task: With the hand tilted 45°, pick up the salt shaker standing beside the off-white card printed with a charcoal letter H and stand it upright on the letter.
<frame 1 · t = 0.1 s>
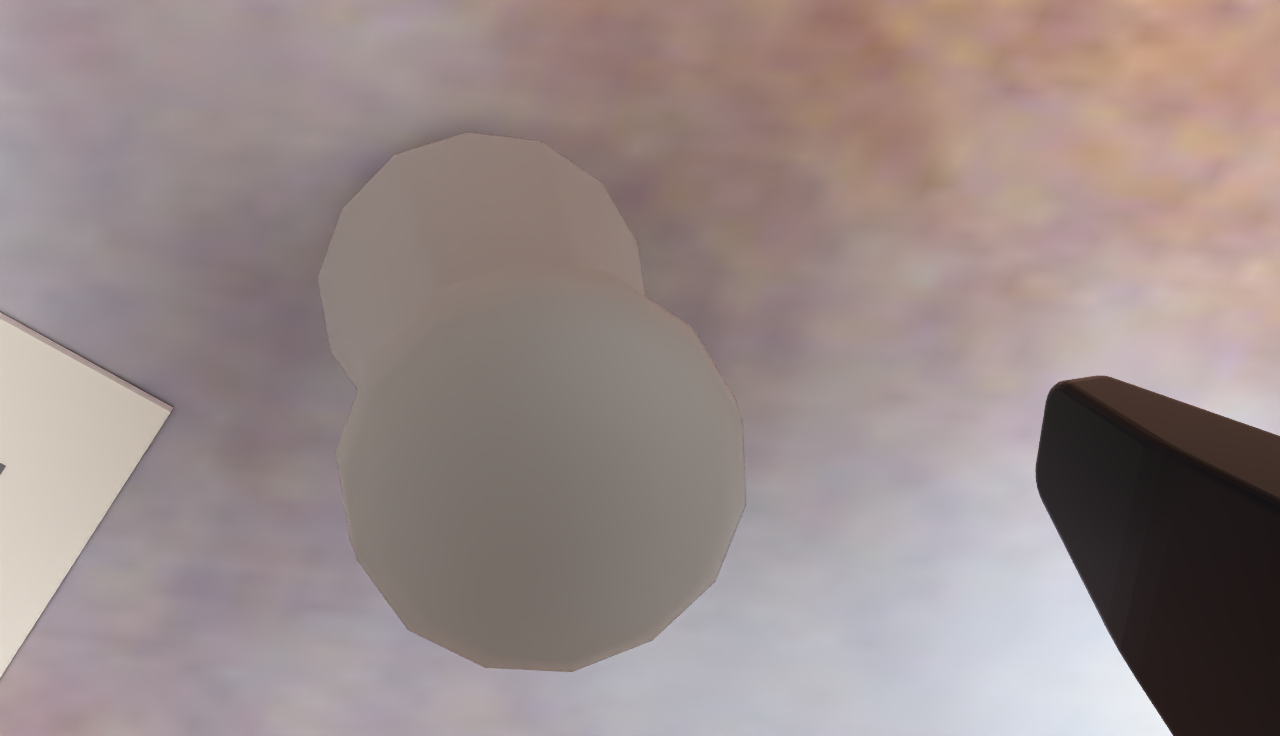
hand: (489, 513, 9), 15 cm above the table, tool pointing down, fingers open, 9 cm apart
salt shaker: (477, 270, 24), on the table
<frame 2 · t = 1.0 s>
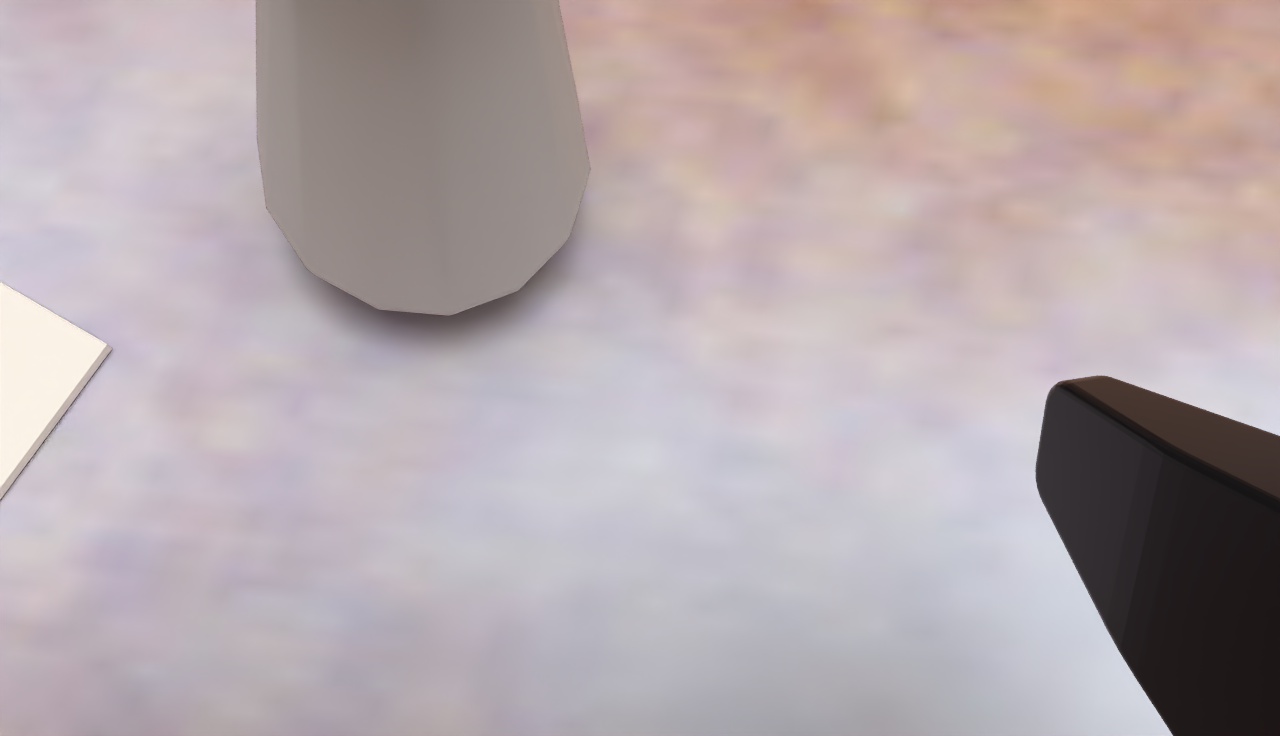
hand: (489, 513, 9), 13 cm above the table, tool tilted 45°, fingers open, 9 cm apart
salt shaker: (433, 212, 24), on the table
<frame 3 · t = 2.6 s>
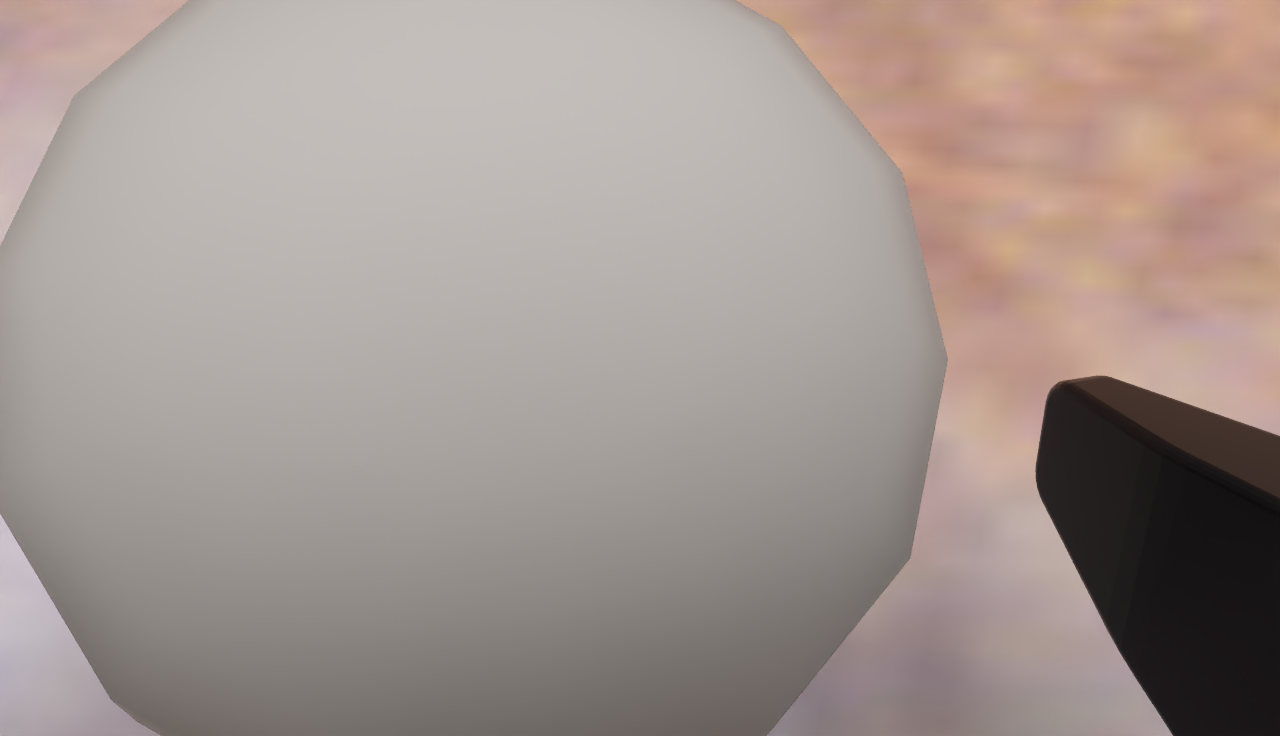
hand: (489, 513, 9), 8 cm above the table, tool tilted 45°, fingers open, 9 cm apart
salt shaker: (489, 594, 17), on the table
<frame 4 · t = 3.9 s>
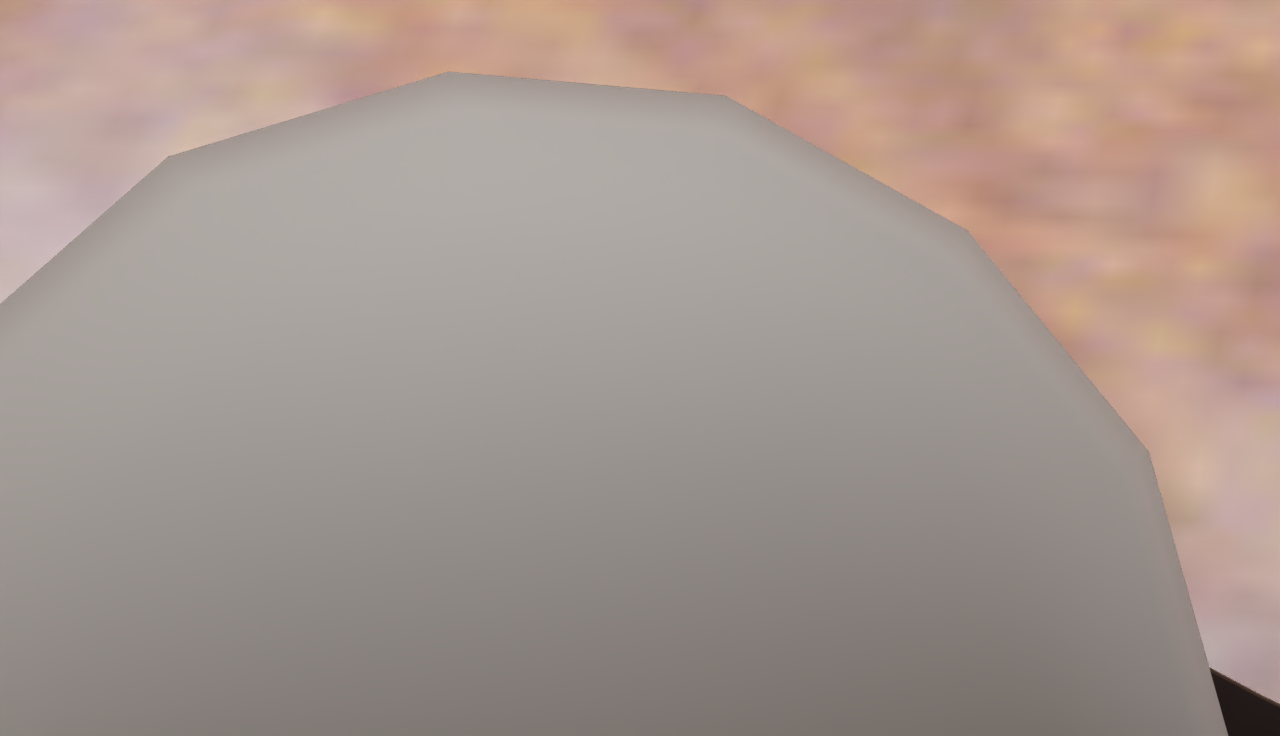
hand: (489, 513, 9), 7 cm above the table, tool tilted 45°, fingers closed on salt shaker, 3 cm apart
salt shaker: (505, 704, 15), on the table, touching gripper
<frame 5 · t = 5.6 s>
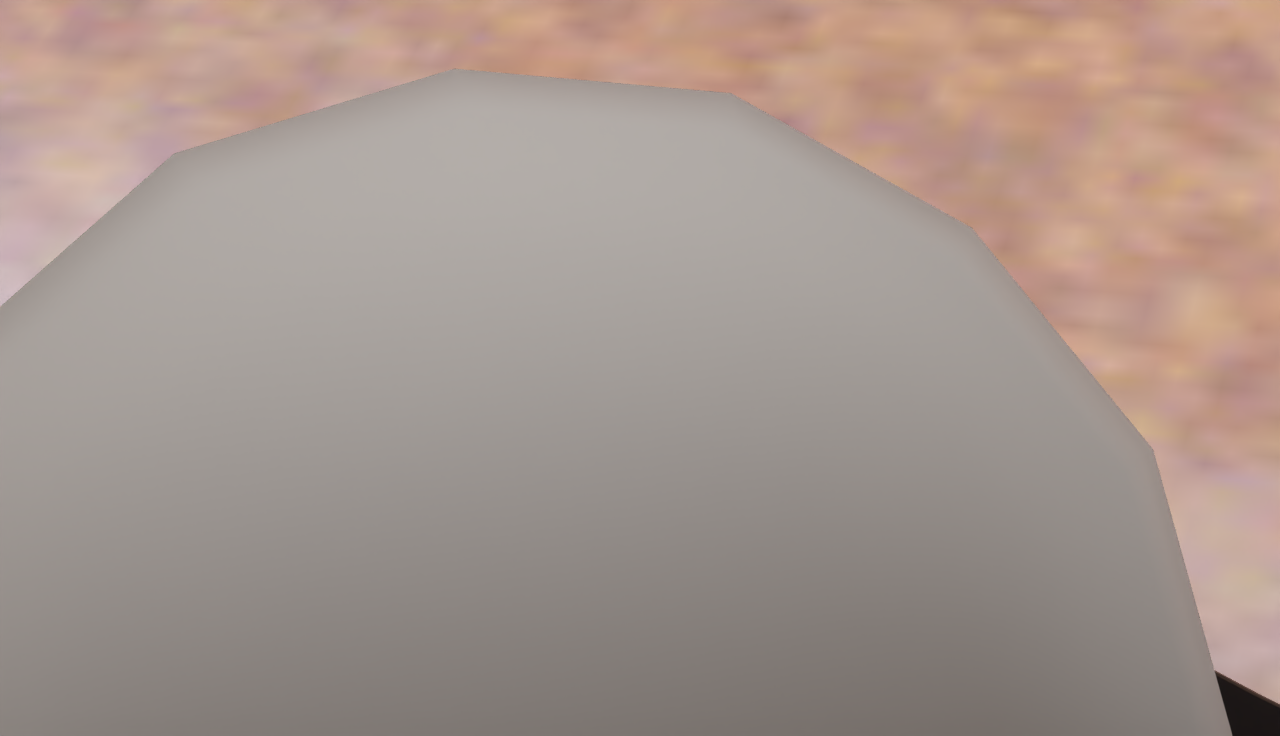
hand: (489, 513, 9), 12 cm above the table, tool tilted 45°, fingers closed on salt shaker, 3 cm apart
salt shaker: (506, 699, 16), point 5 cm above the table, touching gripper
when the fingers open (9 cm above the table, at t = 7.7 s): salt shaker drops 1 cm, resting on letter card.
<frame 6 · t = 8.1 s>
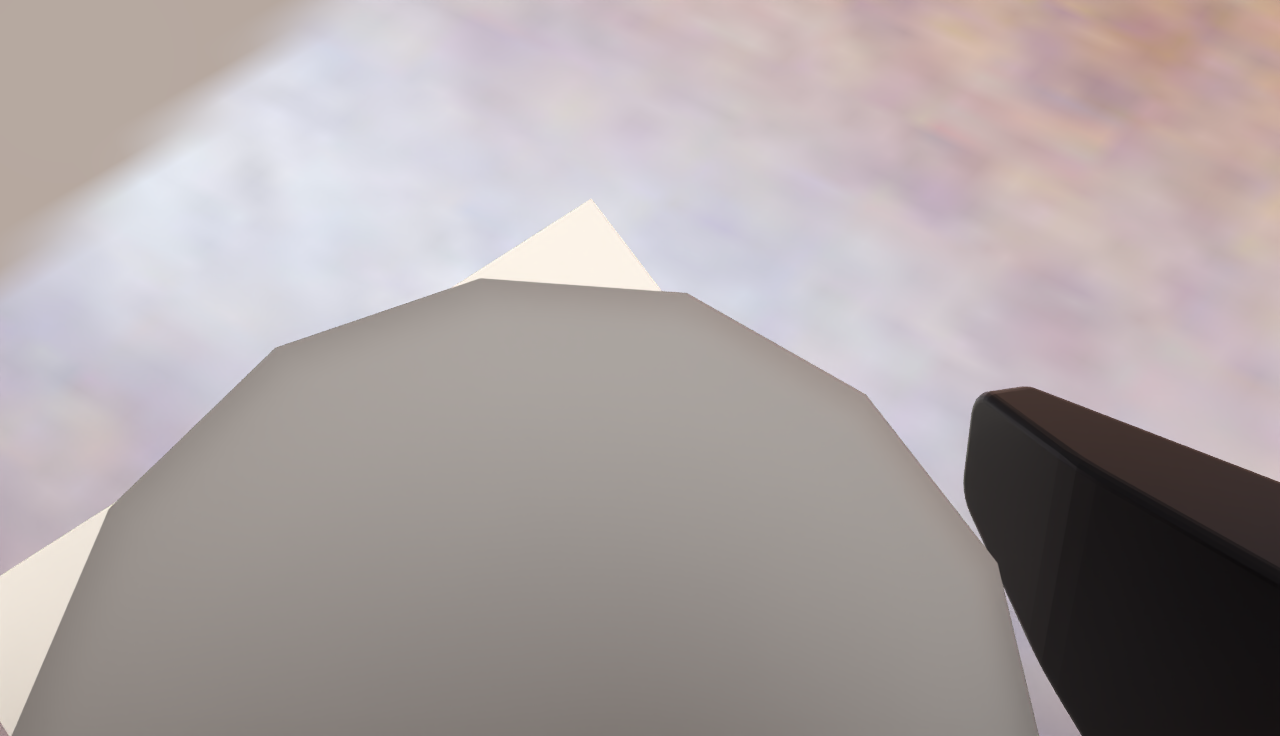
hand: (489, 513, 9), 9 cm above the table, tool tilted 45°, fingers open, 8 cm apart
letter card: (505, 702, 17), on the table
salt shaker: (509, 718, 17), resting on letter card
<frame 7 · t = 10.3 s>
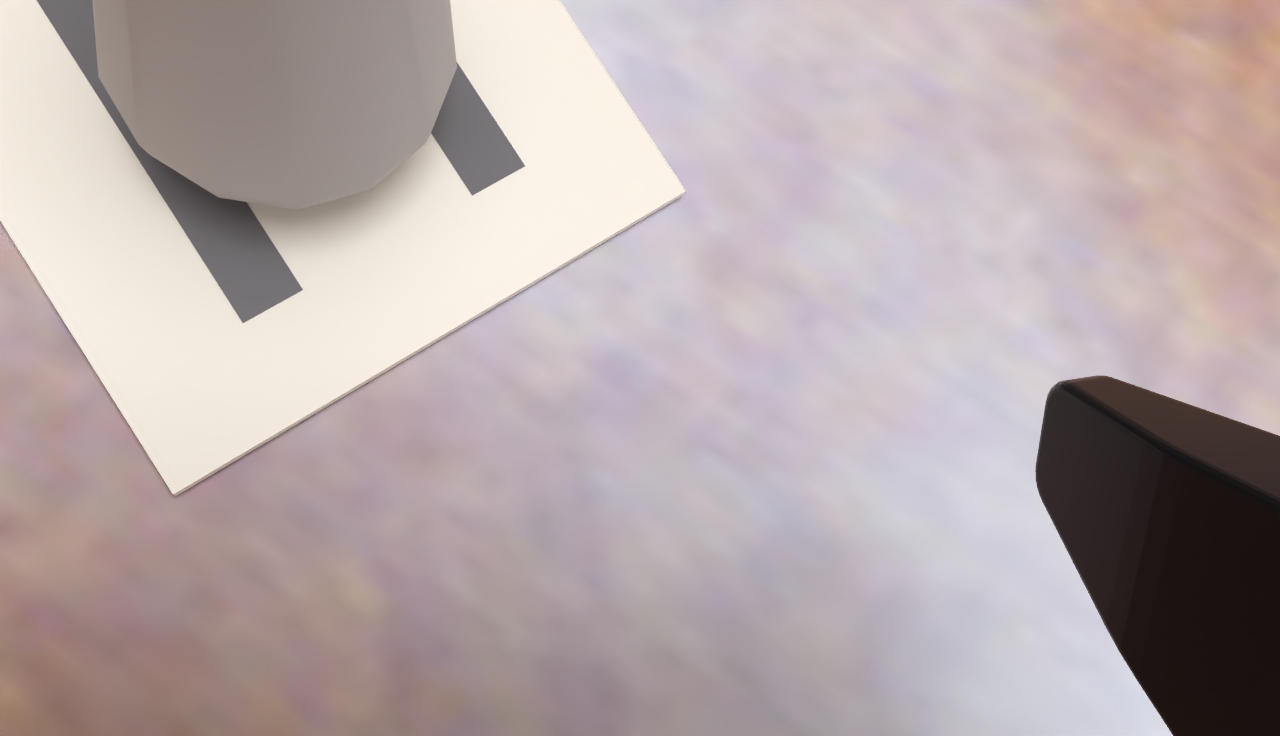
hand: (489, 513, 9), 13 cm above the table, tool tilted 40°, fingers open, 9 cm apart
letter card: (289, 92, 23), on the table
salt shaker: (291, 101, 22), resting on letter card
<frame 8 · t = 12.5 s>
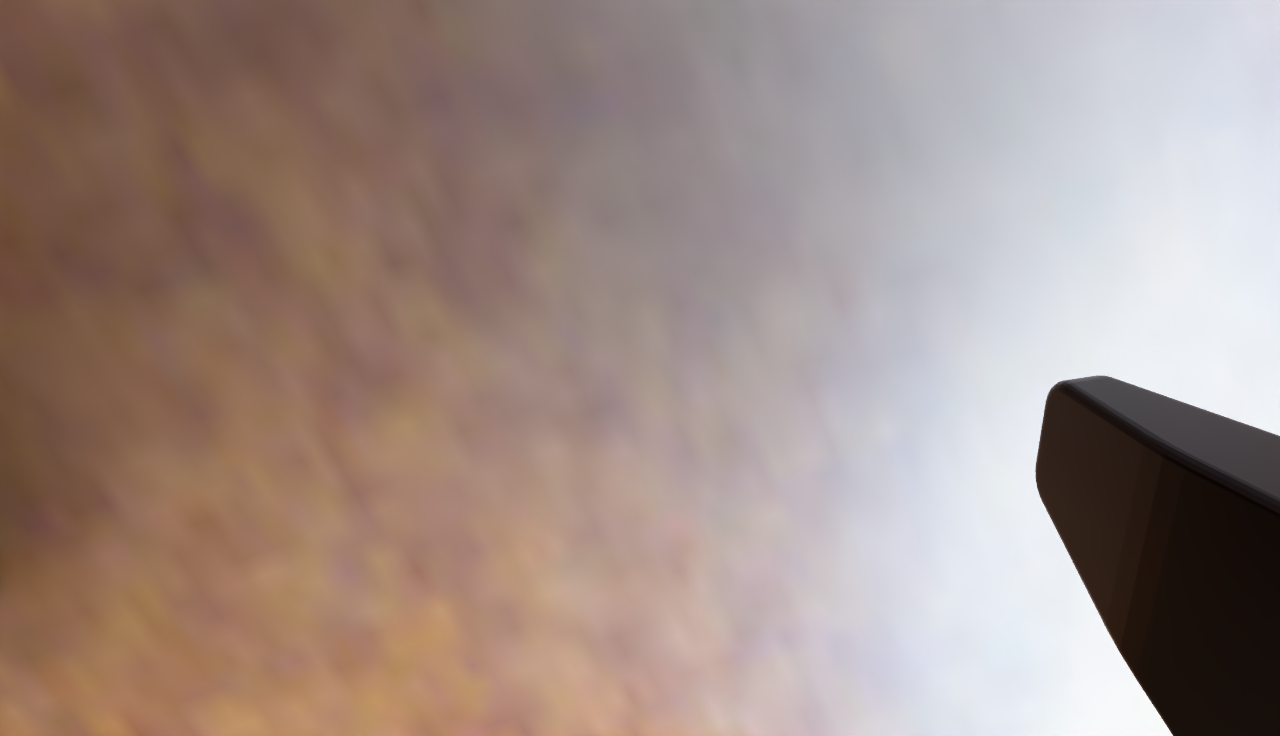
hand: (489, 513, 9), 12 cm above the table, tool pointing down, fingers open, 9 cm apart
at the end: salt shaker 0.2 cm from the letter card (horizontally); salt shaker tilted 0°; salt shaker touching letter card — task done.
